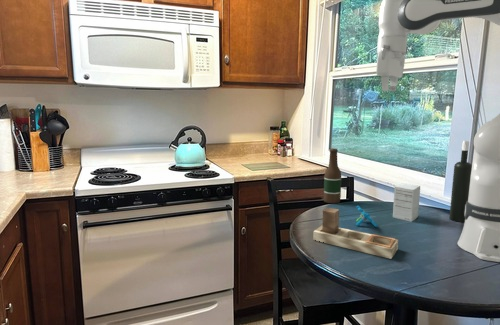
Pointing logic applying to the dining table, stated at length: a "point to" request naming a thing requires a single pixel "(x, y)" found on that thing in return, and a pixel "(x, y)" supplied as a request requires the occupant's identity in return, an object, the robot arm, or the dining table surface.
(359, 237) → the wooden compartment tray
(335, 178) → the beer bottle
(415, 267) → the dining table surface
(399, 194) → the supplement box
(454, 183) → the wine bottle
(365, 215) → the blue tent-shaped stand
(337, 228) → the peg
